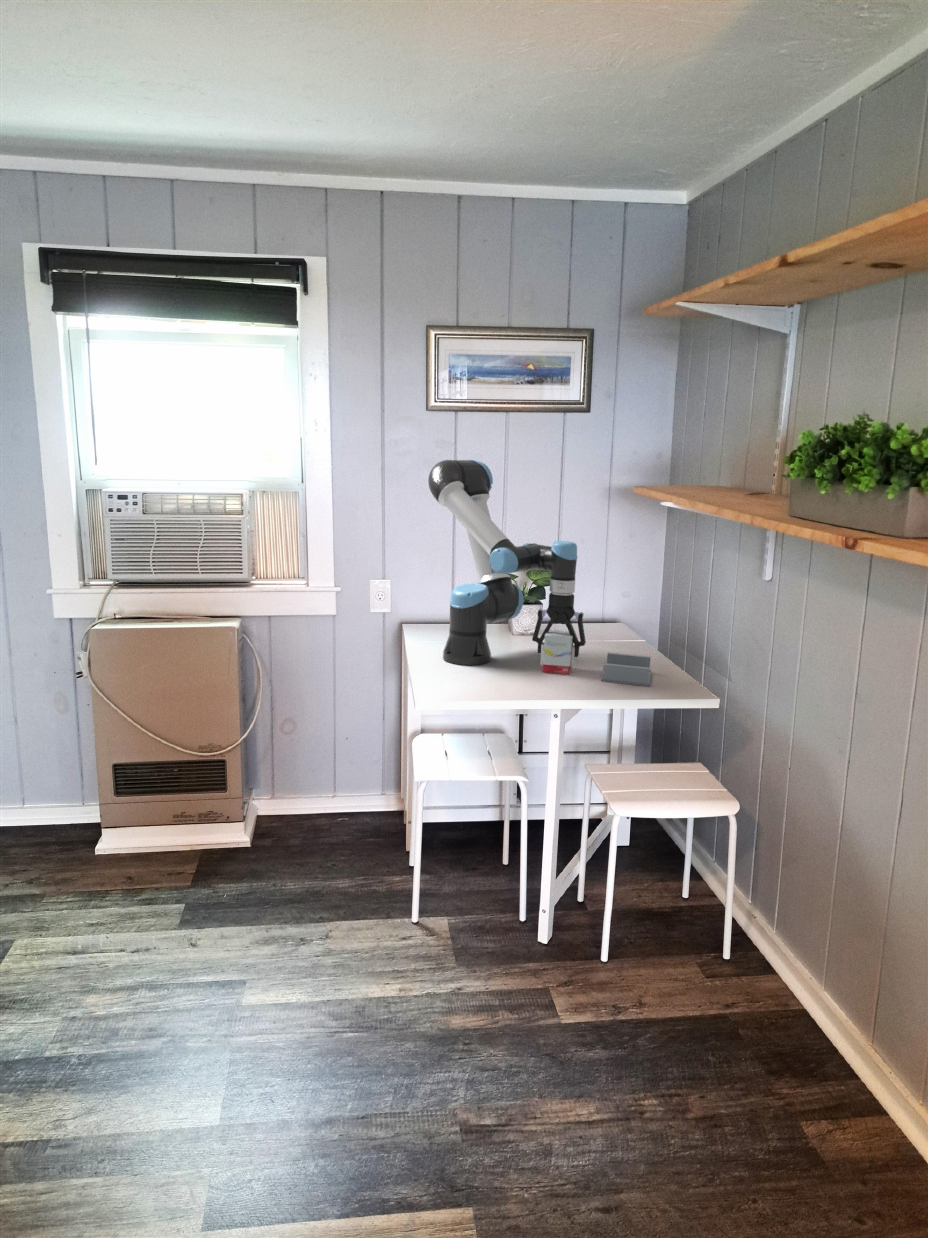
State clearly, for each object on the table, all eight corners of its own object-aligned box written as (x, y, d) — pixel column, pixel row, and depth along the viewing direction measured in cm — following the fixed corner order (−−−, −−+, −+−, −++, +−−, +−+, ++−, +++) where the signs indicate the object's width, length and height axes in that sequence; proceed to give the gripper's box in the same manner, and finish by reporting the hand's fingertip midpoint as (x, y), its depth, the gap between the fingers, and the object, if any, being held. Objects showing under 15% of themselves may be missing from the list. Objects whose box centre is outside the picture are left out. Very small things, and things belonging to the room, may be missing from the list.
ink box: (569, 675, 253) (572, 636, 250) (541, 672, 254) (543, 634, 252) (572, 667, 261) (574, 630, 259) (544, 665, 263) (546, 628, 260)
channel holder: (600, 681, 247) (602, 664, 246) (605, 668, 262) (606, 652, 261) (649, 686, 244) (650, 669, 243) (650, 672, 258) (652, 656, 257)
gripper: (524, 592, 251) (520, 665, 256) (596, 598, 247) (591, 672, 251) (528, 588, 259) (524, 659, 263) (598, 593, 254) (593, 666, 259)
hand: (557, 665), depth 257 cm, fingers closed on ink box, 9 cm apart
